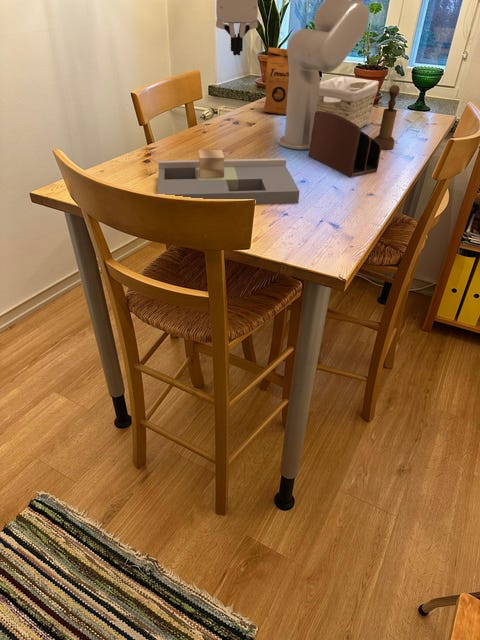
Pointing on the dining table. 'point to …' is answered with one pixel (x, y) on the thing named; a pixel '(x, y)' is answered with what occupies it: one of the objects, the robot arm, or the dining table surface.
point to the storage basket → (348, 98)
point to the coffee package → (277, 81)
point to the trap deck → (230, 181)
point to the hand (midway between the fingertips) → (236, 54)
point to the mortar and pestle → (388, 121)
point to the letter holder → (343, 145)
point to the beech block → (211, 163)
